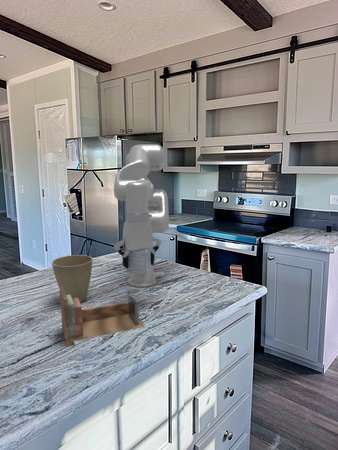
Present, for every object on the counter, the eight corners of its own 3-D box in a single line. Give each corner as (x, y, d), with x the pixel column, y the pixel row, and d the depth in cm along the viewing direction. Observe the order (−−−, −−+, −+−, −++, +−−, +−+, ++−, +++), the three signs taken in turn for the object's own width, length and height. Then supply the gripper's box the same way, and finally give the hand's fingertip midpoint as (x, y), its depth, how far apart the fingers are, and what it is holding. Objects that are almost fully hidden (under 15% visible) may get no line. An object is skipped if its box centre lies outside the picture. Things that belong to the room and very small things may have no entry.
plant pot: (62, 292, 144) (59, 254, 141) (98, 292, 143) (96, 254, 140) (48, 308, 129) (45, 266, 126) (89, 308, 129) (86, 266, 126)
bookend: (131, 314, 120) (130, 295, 119) (138, 324, 113) (138, 304, 112) (128, 315, 120) (127, 295, 118) (135, 325, 112) (135, 304, 111)
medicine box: (151, 271, 127) (151, 247, 125) (146, 275, 123) (146, 251, 121) (131, 269, 130) (130, 246, 128) (126, 272, 125) (125, 249, 124)
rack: (134, 315, 123) (132, 275, 120) (145, 330, 112) (144, 287, 109) (62, 328, 114) (59, 286, 111) (66, 346, 103) (63, 300, 100)
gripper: (157, 214, 129) (157, 260, 132) (110, 218, 122) (112, 265, 126) (164, 217, 122) (165, 265, 125) (115, 221, 116) (117, 272, 119)
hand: (138, 265), depth 126 cm, fingers closed on medicine box, 8 cm apart
